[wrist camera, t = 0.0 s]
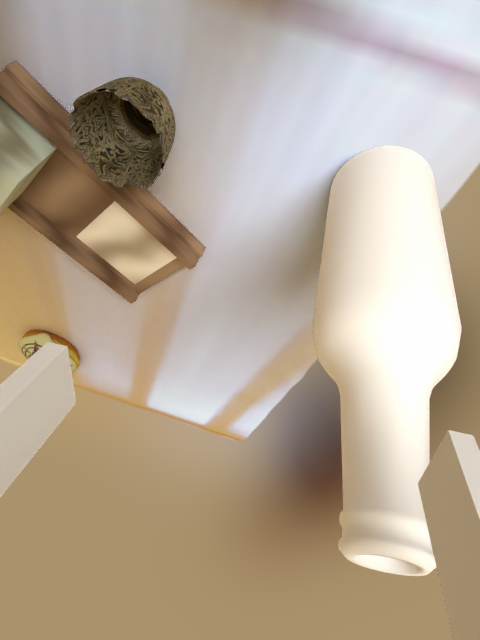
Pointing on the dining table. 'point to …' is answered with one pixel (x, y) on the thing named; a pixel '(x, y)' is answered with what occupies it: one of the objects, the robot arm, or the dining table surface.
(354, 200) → the alcohol
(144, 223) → the brown wooden tray
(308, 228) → the dining table surface
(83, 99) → the cup
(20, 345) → the decorated donut
